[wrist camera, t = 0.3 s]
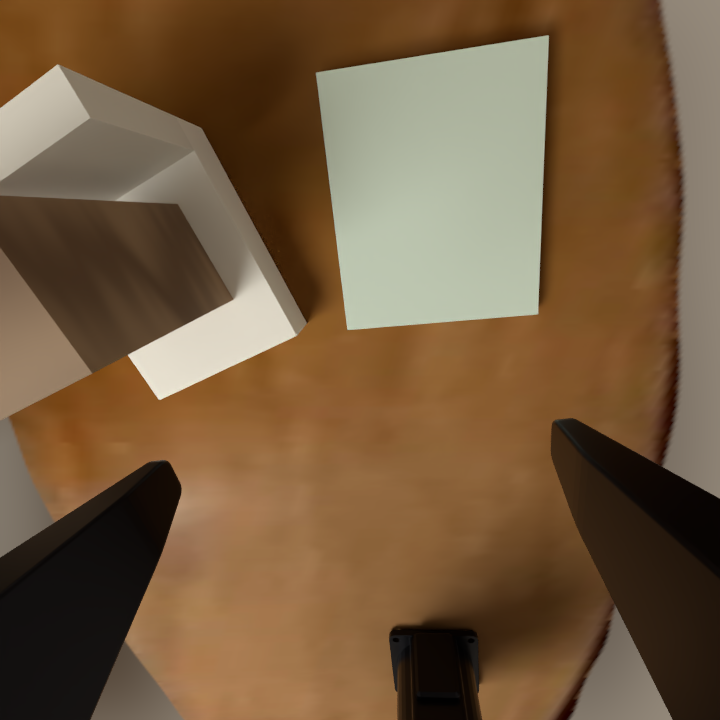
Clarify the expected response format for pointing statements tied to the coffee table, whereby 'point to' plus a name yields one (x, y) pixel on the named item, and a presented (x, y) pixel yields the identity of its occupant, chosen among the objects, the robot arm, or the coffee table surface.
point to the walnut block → (92, 288)
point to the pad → (438, 183)
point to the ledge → (151, 185)
